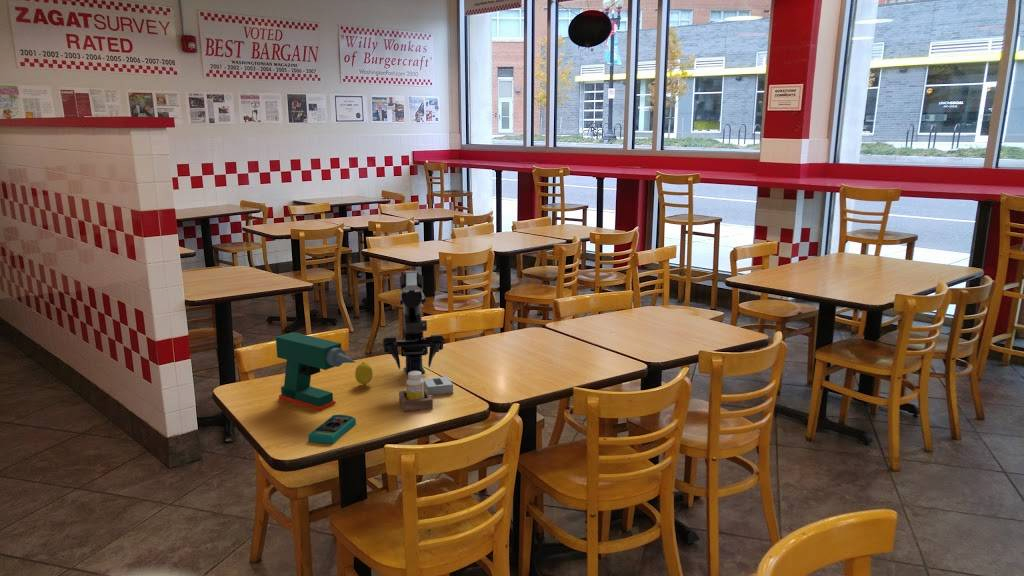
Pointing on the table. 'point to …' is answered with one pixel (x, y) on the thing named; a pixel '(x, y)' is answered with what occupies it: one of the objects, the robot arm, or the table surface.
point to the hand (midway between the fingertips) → (414, 367)
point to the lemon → (363, 373)
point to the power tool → (307, 368)
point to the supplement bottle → (415, 386)
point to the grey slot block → (438, 385)
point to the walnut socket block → (415, 402)
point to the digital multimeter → (332, 429)
